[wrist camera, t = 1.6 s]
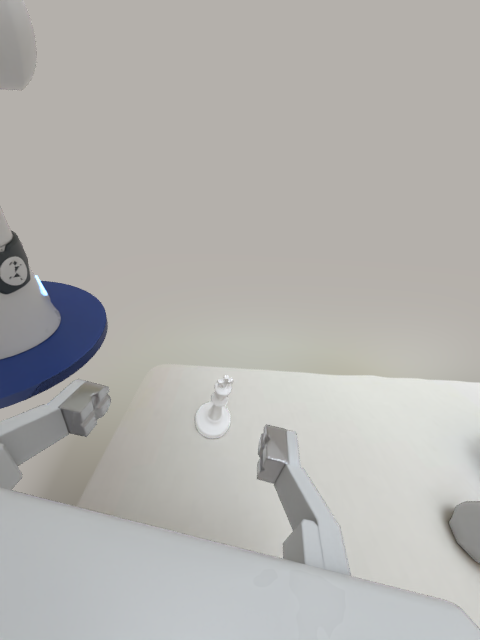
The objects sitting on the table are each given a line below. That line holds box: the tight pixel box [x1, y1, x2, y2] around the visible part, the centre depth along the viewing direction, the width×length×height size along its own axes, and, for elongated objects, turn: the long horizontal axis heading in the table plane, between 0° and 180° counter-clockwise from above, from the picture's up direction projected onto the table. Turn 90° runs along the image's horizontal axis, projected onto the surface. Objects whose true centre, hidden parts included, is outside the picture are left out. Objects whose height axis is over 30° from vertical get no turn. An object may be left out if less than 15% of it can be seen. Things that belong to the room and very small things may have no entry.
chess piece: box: [195, 375, 233, 439], centre depth 26 cm, size 5×5×10 cm
